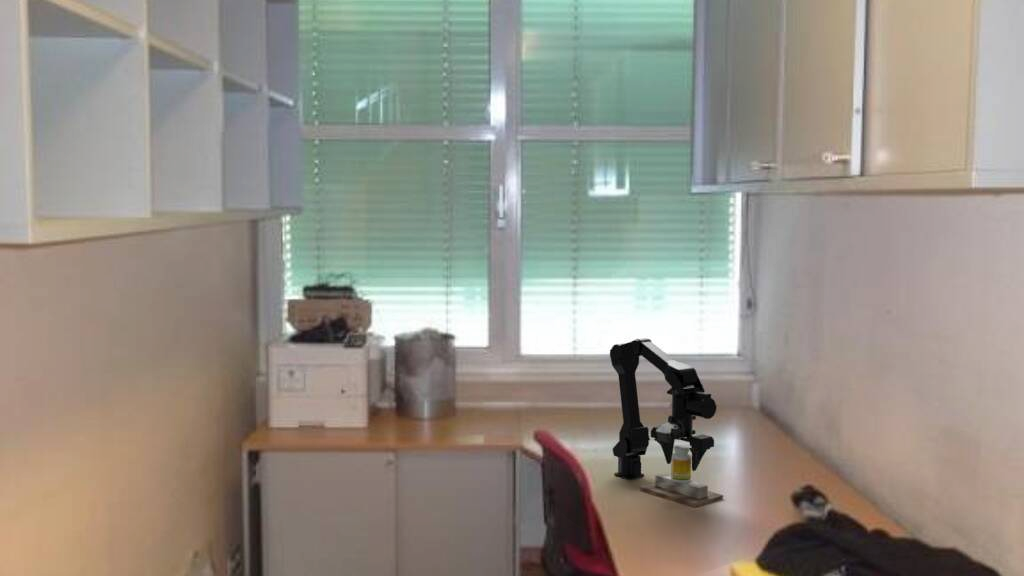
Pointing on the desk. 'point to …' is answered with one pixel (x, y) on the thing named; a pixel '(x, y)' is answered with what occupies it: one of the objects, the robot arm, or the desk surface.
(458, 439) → the desk surface
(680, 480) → the supplement bottle
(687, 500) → the ridge board
